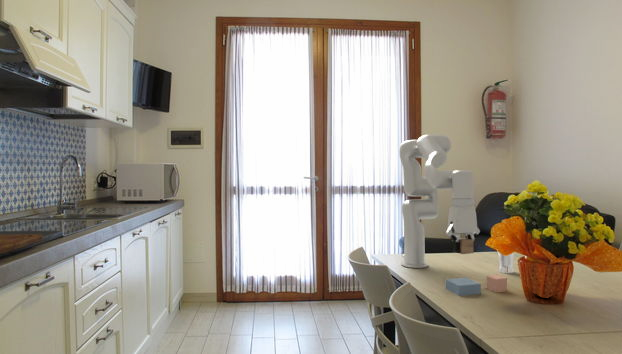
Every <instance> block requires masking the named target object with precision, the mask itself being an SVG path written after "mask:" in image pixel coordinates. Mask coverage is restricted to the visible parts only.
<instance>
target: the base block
mask: <svg viewBox="0 0 622 354" xmlns="http://www.w3.org/2000/svg"><path fill="white" fill-rule="evenodd" d="M445 289H446V290H447V291H449V292H451V293H452V294H455V295H456V296H471V295H473V296H474V295H481V294H482V283H479V282H478V281H476V280H473V279H471V278H468V277H459V278H458V277H457V278H445Z"/></svg>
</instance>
